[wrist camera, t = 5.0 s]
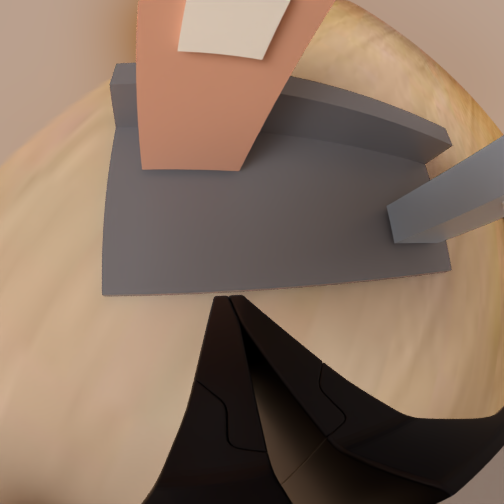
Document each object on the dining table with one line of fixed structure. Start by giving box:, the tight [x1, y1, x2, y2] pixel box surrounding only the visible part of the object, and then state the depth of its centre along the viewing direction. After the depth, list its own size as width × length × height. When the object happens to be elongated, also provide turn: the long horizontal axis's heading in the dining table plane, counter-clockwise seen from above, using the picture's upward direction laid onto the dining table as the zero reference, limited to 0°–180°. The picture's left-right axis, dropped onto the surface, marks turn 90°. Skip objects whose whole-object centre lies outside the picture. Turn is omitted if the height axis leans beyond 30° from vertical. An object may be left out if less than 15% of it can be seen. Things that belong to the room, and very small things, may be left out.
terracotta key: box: [136, 0, 335, 171], centre depth 11 cm, size 3×6×13 cm, turn 95°
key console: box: [102, 63, 453, 296], centre depth 18 cm, size 13×28×5 cm, turn 94°
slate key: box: [387, 135, 504, 243], centre depth 15 cm, size 3×6×13 cm, turn 94°
